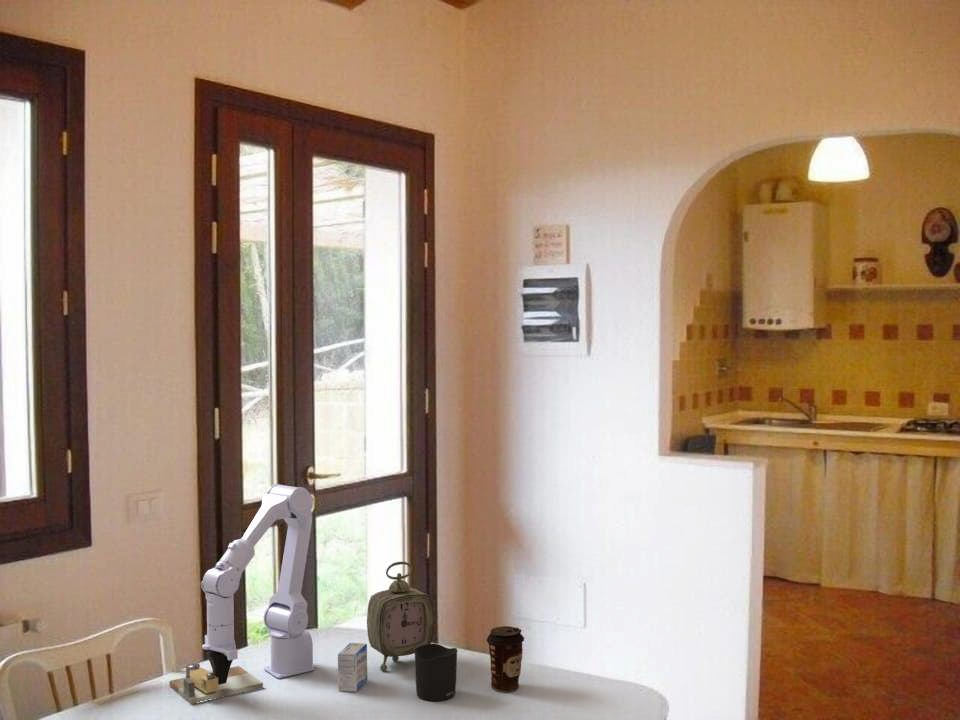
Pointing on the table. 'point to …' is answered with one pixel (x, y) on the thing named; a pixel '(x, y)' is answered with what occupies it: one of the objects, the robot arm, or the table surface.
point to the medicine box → (352, 667)
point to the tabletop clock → (399, 619)
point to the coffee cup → (505, 657)
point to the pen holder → (435, 672)
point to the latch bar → (202, 678)
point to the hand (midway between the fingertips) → (221, 683)
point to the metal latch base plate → (234, 685)
